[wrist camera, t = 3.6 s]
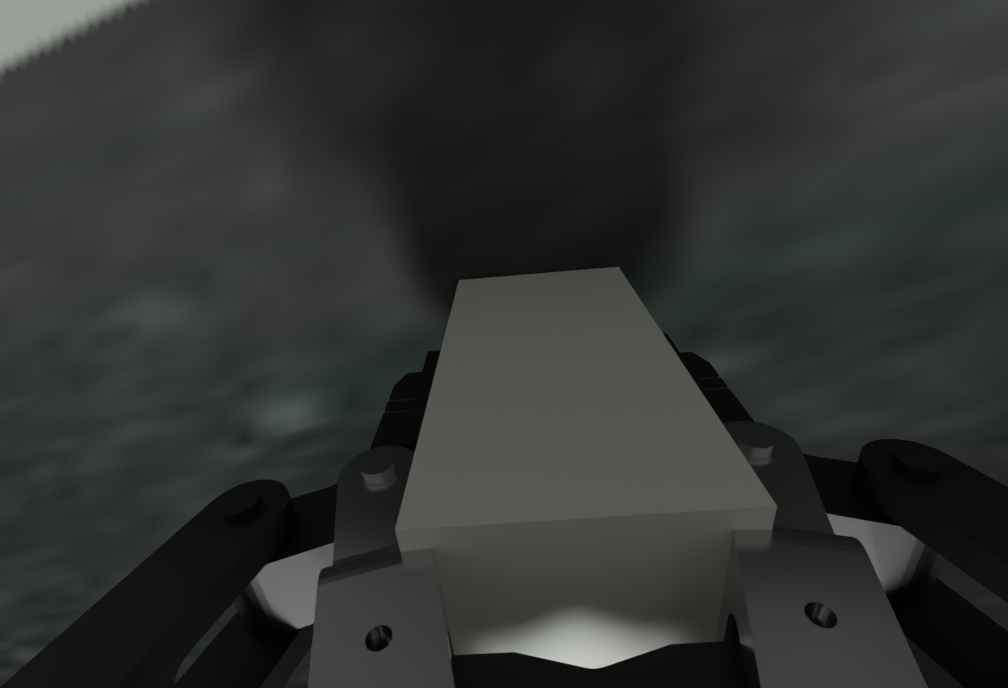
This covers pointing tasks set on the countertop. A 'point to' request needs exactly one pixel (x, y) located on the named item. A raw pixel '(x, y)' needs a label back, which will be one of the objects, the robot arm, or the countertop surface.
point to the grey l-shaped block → (573, 476)
